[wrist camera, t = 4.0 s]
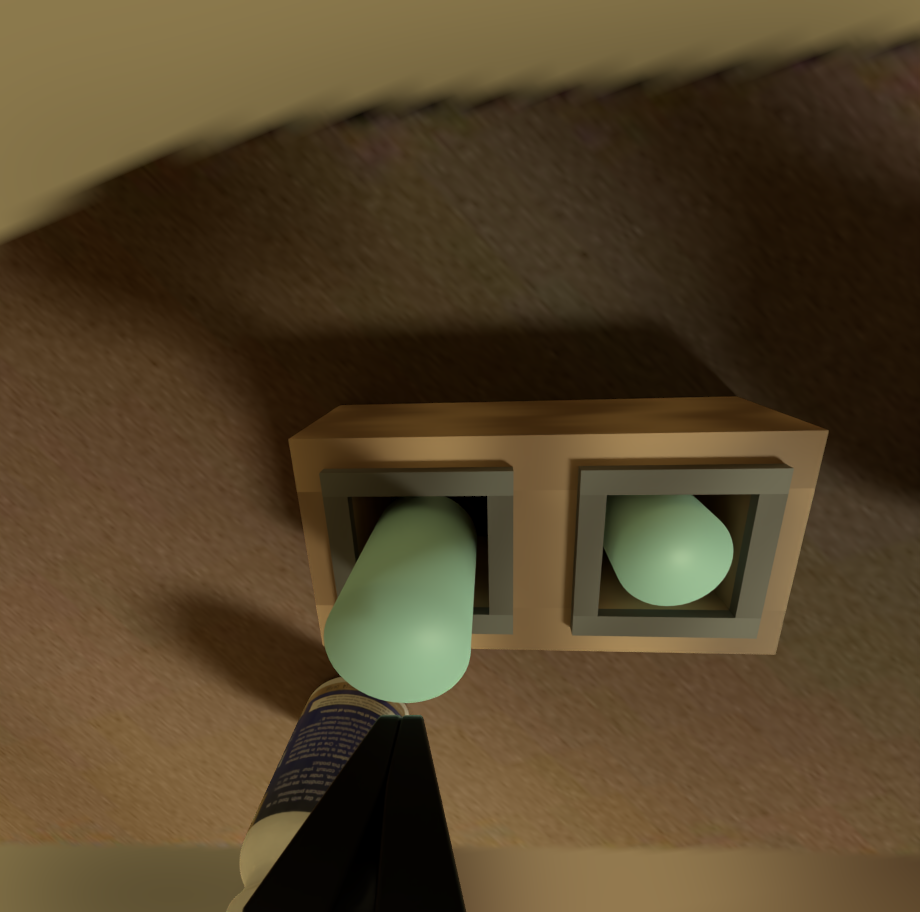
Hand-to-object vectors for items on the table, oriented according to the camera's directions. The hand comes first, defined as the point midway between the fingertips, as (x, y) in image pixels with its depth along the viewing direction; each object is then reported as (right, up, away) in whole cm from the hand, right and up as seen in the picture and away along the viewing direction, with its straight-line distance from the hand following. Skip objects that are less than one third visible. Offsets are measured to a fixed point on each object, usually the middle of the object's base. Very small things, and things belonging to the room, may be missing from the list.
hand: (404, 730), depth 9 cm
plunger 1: (0, +2, +7) cm, 8 cm away
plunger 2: (+8, +4, +10) cm, 14 cm away
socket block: (+4, +4, +11) cm, 12 cm away
